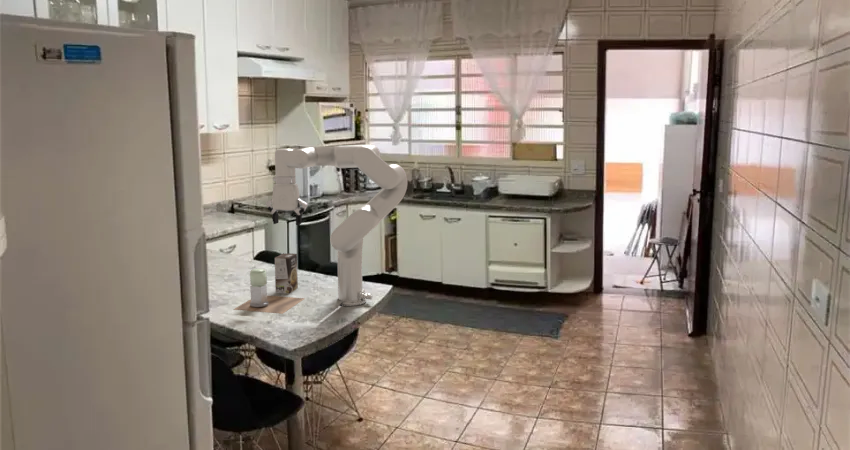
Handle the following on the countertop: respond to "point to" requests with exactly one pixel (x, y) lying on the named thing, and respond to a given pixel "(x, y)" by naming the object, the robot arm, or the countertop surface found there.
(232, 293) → the countertop surface
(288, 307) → the base board
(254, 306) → the grey piece
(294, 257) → the coffee box
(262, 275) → the cap
